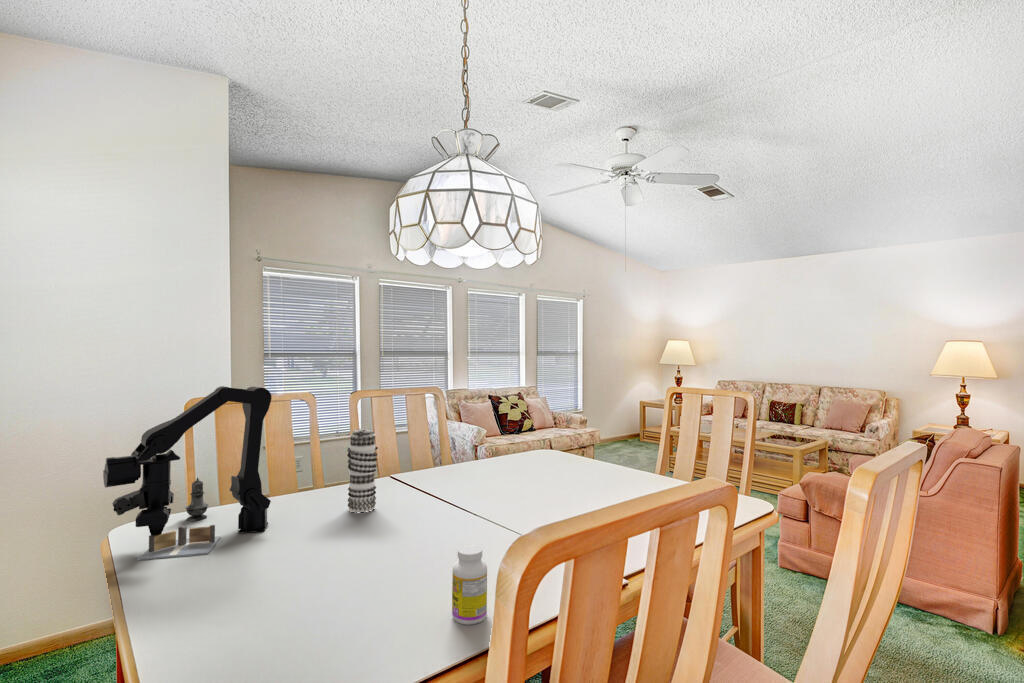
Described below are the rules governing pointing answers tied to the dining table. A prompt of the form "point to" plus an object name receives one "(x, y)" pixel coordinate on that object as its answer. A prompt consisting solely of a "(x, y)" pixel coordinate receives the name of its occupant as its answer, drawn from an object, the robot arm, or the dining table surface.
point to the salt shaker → (197, 502)
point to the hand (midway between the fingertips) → (155, 541)
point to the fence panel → (162, 541)
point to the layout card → (181, 550)
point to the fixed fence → (196, 534)
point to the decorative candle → (362, 471)
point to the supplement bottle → (469, 586)
